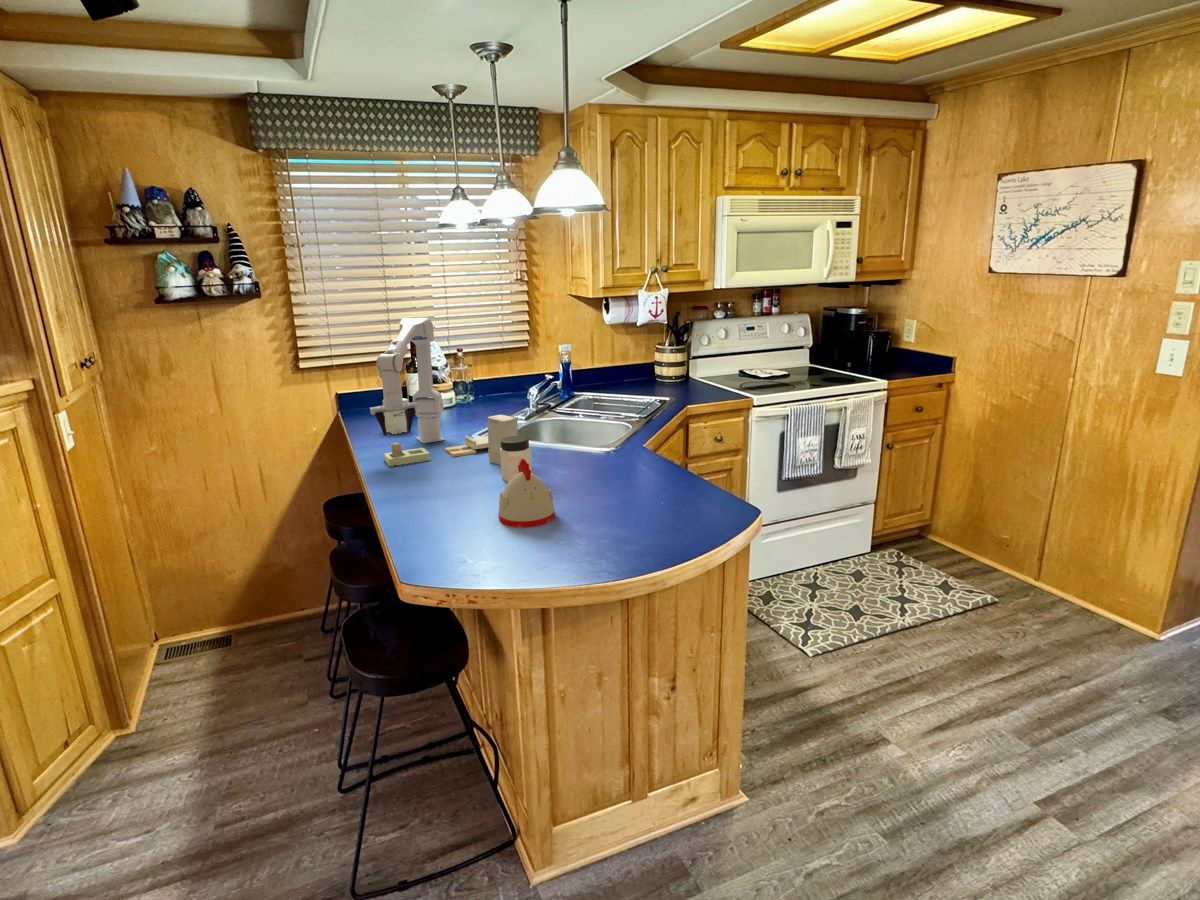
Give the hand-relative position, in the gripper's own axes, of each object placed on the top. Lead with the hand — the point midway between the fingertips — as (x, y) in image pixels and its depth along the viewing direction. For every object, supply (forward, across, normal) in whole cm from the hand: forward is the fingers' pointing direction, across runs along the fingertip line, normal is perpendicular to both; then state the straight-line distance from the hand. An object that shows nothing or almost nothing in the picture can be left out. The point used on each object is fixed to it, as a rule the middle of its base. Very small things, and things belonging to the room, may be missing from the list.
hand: (397, 433), depth 224 cm
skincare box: (+10, +28, -20) cm, 36 cm away
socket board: (+9, +2, 0) cm, 10 cm away
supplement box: (+10, +9, +42) cm, 44 cm away
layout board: (+9, +20, 0) cm, 22 cm away
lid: (+8, +27, 0) cm, 29 cm away
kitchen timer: (+10, +15, -69) cm, 72 cm away
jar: (+10, +25, -38) cm, 47 cm away
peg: (+9, -1, 0) cm, 9 cm away
